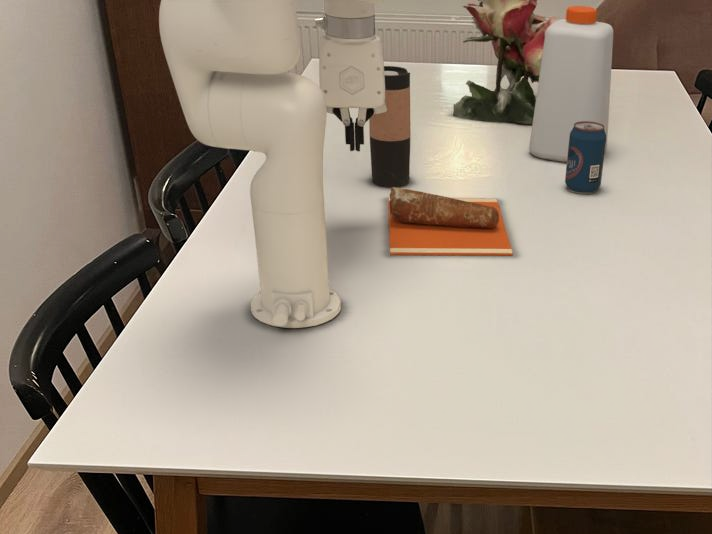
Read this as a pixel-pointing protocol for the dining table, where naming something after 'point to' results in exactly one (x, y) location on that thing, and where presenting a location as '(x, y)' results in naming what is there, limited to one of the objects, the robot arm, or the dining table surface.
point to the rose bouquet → (507, 60)
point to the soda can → (585, 157)
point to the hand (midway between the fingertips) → (355, 148)
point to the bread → (439, 210)
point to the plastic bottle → (571, 81)
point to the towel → (449, 237)
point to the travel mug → (392, 132)
